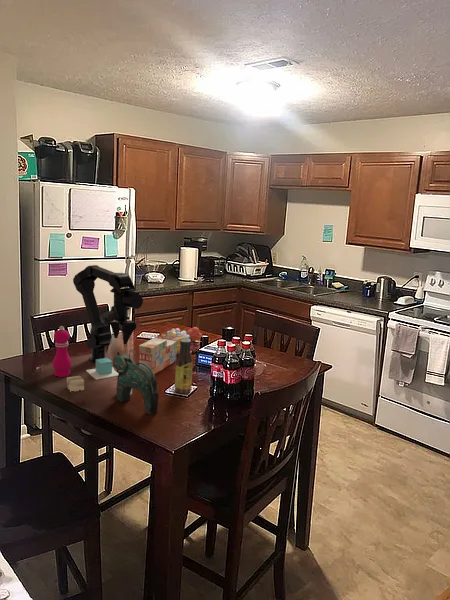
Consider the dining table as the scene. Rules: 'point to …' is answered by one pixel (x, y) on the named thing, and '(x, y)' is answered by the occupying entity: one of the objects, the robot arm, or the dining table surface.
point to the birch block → (75, 383)
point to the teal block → (103, 366)
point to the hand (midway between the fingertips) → (120, 341)
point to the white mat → (98, 376)
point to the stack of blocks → (157, 354)
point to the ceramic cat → (136, 381)
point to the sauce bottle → (183, 368)
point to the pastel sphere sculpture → (180, 335)
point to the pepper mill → (61, 353)
